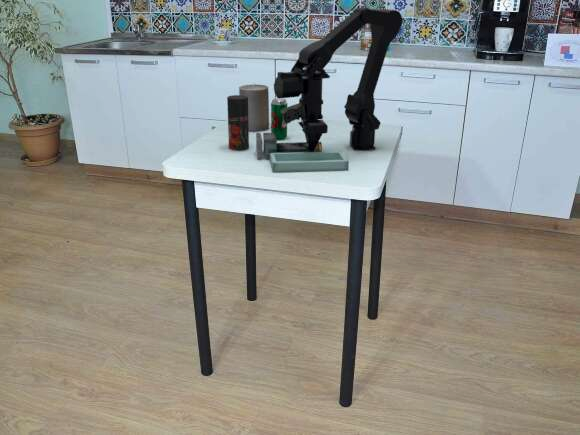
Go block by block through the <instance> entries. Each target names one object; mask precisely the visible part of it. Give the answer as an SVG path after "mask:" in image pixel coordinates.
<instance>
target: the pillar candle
mask: <svg viewBox="0 0 580 435" xmlns="http://www.w3.org/2000/svg"><path fill="white" fill-rule="evenodd" d="M238 93H239V94H238V95H243V96H247V97H248V121H249V132H251V133H252V132H255V133H257V132H262V131H266V130H269V129H270V104H269V103H270V100H269V97H270V96H269V93H270V92H269V86H268V85H266V84H256V83H255V82H254V83H253V84H244V85H240V86H239V87H238Z"/></svg>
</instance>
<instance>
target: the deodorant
mask: <svg viewBox="0 0 580 435" xmlns="http://www.w3.org/2000/svg"><path fill="white" fill-rule="evenodd" d="M226 100H227V128H228V129H227V130H228V131H227V132H228V135H227V136H228V149H229V150H231V151H234V152H240V151H242V152H243V151H247V150H248V149H249V148H250V145H249V144H250V133H249V132H250V131H249V121H248V97H247V96H243V95H239V94H236V95H235V94H234V95H229V96H227V97H226Z"/></svg>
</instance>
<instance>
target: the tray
mask: <svg viewBox="0 0 580 435" xmlns="http://www.w3.org/2000/svg"><path fill="white" fill-rule="evenodd" d="M269 163H270V166H271V170H272V171H271V172H272V173H295V172H296V173H301V172H329V171H330V172H333V171H334V172H338V171H342V172H343V171H349V168H350V167H349V163H350V161H349V159H348V158H347V157H346V155H345V154H344V152H343V151H342V150H341V151H322V152H292V153H270V160H269Z"/></svg>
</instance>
